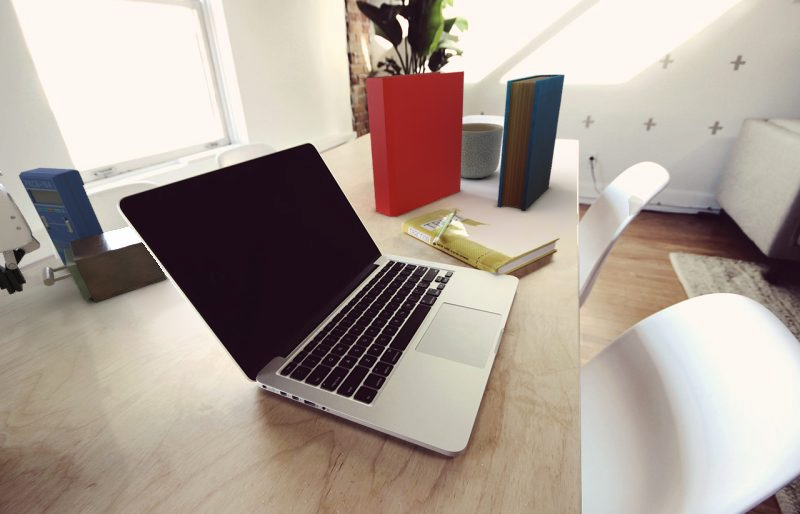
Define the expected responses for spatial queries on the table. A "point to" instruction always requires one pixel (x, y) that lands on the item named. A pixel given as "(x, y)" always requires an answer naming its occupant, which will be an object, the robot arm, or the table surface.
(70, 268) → the drawer
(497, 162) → the planter
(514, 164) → the book
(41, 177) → the electronic device
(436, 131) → the book
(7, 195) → the robot arm
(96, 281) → the cabinet
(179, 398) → the table surface
